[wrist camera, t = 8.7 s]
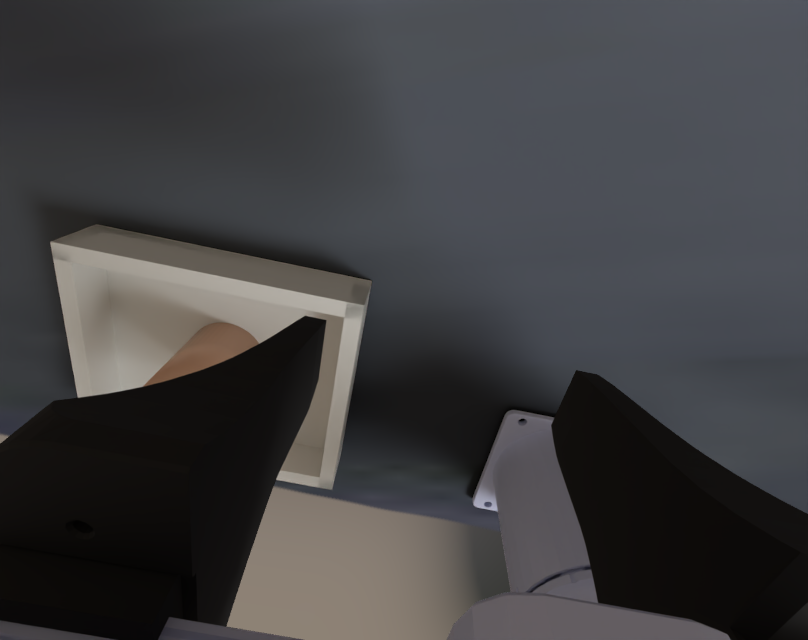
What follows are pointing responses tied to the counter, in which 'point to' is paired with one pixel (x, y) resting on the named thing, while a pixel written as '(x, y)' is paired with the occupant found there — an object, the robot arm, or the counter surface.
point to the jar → (206, 350)
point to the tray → (205, 321)
